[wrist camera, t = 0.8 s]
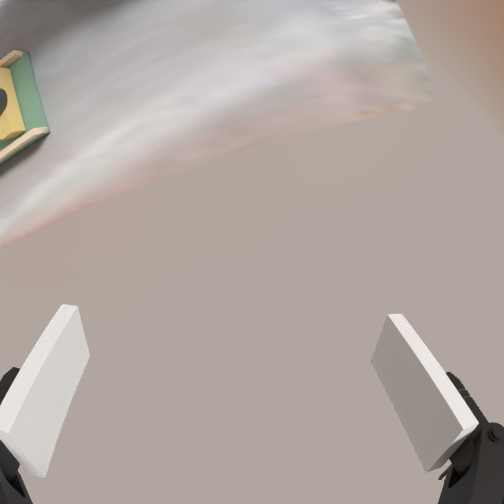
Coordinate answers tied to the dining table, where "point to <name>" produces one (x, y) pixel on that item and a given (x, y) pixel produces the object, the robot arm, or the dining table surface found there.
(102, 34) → the dining table surface
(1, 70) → the yellow block with handle
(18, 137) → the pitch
